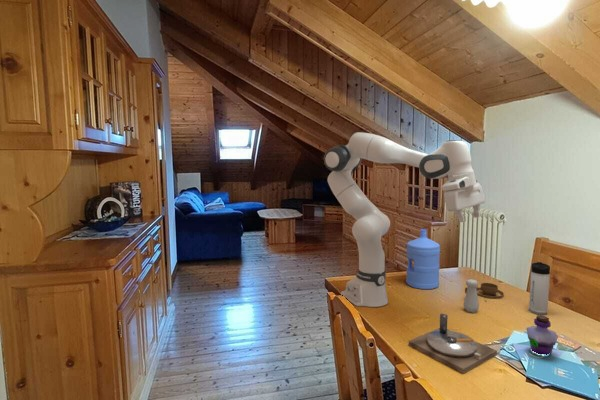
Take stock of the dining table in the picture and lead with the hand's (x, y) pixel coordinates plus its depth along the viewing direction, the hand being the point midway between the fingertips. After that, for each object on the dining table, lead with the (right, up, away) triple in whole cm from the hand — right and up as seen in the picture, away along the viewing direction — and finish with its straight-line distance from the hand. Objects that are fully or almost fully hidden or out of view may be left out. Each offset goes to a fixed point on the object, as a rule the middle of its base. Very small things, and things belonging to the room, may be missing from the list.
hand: (469, 219), depth 131 cm
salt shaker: (+8, -39, +16) cm, 43 cm away
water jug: (-1, -36, +48) cm, 60 cm away
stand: (-13, -42, -14) cm, 46 cm away
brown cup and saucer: (+21, -37, +34) cm, 55 cm away
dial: (-13, -40, -14) cm, 45 cm away
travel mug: (+34, -39, +14) cm, 54 cm away
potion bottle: (+15, -42, -16) cm, 47 cm away
